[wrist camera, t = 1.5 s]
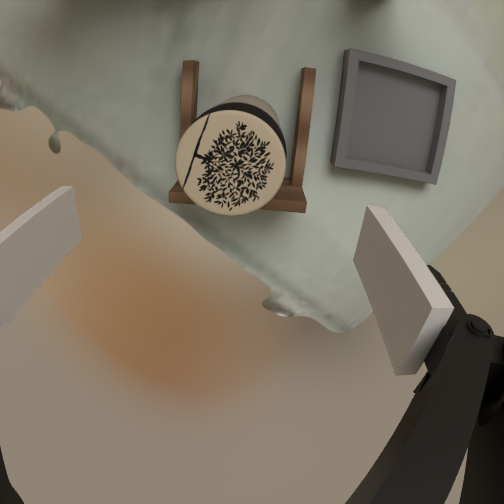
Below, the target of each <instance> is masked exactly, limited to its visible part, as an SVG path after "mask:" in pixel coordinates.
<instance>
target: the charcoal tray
mask: <svg viewBox="0 0 504 504" xmlns="http://www.w3.org/2000/svg"><path fill="white" fill-rule="evenodd" d="M455 85H456V80H454V79H452V78H449V77H446V76H444V75H441V74H438V73H435V72H433V71H430V70H427V69H424V68H421V67H418V66H415V65H412V64H408V63H405V62H402V61H398V60H395V59H391V58H388V57H384V56H380V55H376V54H372V53H368V52H364V51H359V50H355V49H347V50H344V60H343V70H342V79H341V88H340V96H339V104H338V112H337V119H336V127H335V134H334V141H333V148H332V154H331V161H330V162H331V163H332V164H333V166H334V167H340V168H347V169H353V170H360V171H366V172H372V173H378V174H384V175H390V176H395V177H401V178H406V179H411V180H416V181H421V182H426V183H431V184H435V185H436V183H437V179H438V175H439V171H440V167H441V163H442V158H443V154H444V149H445V145H446V140H447V135H448V129H449V124H450V118H451V112H452V106H453V100H454V92H455Z"/></svg>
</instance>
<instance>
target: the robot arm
mask: <svg viewBox="0 0 504 504" xmlns="http://www.w3.org/2000/svg"><path fill="white" fill-rule="evenodd" d="M81 239H82V234H81V229H80V224H79V218H78V212H77V206H76V199H75V192H74V186H61V187H59V188H58V189H56V190H55V191H54V192H52V193H51V194H49V195H48V196H46V197H45V198H44V199H42V200H41V201H40V202H38V203H37V204H35V205H34V206H33V207H32V208H30V209H29V210H27V211H26V212H25V213H24V214H22V215H21V216H20V217H18V218H17V219H16V220H15V221H13V222H12V223H11V224H10V225H8V226H7V227H6V228H5V229H4V230H2V231H1V232H0V326H2V327H6V328H8V327H9V326H10V324H11V323H12V322H13V320H14V319H15V318H16V316H17V315H18V314H19V312H20V311H21V310H22V308H23V307H24V306H25V305H26V303H27V302H28V301H29V299H30V298H31V297H32V296H33V294H34V293H35V292H36V291H37V290H38V288H39V287H40V286H41V285H42V283H43V282H44V281H45V280H46V279H47V277H48V276H49V275H50V274H51V273H52V272H53V270H54V269H55V268H56V267H57V266H58V265H59V263H60V262H61V261H62V260H63V259H64V258H65V257H66V256H67V254H68V253H69V252H70V251H71V250H72V249H73V248H74V247H75V246H76V245H77V243H78V242H79V241H80V240H81ZM353 261H354V263H355V266H356V268H357V271H358V273H359V276H360V278H361V281H362V283H363V286H364V288H365V291H366V293H367V296H368V298H369V301H370V304H371V306H372V309H373V312H374V314H375V317H376V320H377V323H378V325H379V328H380V331H381V333H382V336H383V339H384V342H385V345H386V348H387V351H388V354H389V357H390V360H391V363H392V366H393V369H394V372H395V375H411V374H416V373H417V372H418V370H419V368H420V367H421V365H422V364H423V362H425V365H426V367H427V370H428V371H427V373H426V374H425V376H424V377H423V379H422V380H421V382H420V383H419V385H418V386H417V387H416V389H415V390H414V391H413V392H414V393H415V395H414V397H413V399H412V401H411V403H410V405H409V407H408V409H407V411H406V412H405V414H404V416H403V418H402V419H401V421H400V423H399V425H398V426H397V428H396V430H395V432H394V433H393V435H392V437H391V438H390V440H389V441H388V443H387V445H386V446H385V448H384V449H383V451H382V453H381V454H380V456H379V457H378V459H377V460H376V462H375V463H374V465H373V466H372V468H371V469H370V471H369V472H368V474H367V475H366V477H365V478H364V479H363V481H362V482H361V483H360V485H359V486H358V488H357V489H356V490H355V491H354V493H353V494H352V495H351V497H350V498H349V499H348V501H347V502H346V503H345V504H444V503H445V501H446V499H447V497H448V494H449V492H450V490H451V488H452V486H453V483H454V481H455V479H456V476H457V474H458V471H459V469H460V466H461V464H462V461H463V459H464V456H465V453H466V451H467V448H468V453H467V462H466V468H465V475H464V482H463V487H462V492H461V497H460V502H459V504H504V337H500V336H496V335H494V332H493V330H492V328H491V327H490V325H489V324H488V323H487V322H486V321H485V320H483V319H482V318H480V317H478V316H475V315H472V314H467V313H466V312H465V310H464V308H463V307H462V305H461V304H460V302H459V301H458V299H457V297H456V296H455V294H454V293H453V292H451V288H450V287H449V286H448V284H446V281H445V280H444V278H443V277H442V276H441V274H440V273H439V272H438V271H437V270H435V269H434V268H433V267H432V266H431V265H426V264H425V263H424V261H423V260H422V259H421V257H420V256H419V254H418V253H417V251H416V250H415V249H414V247H413V246H412V245H411V243H410V242H409V241H408V239H407V238H406V236H405V235H404V234H403V232H402V231H401V230H400V229H399V227H398V226H397V225H396V223H395V222H394V221H393V219H392V218H391V217H390V216H389V214H388V213H387V212H386V211H385V209H384V208H383V207H377V206H370V205H367V206H366V211H365V215H364V219H363V224H362V228H361V232H360V236H359V240H358V244H357V248H356V252H355V255H354V259H353ZM0 504H24V502H23V501H22V499H21V498H20V496H19V495H18V494H17V492H16V491H15V489H14V488H13V487H12V485H11V483H10V482H9V479H8V476H7V472H6V469H5V465H4V461H3V457H2V452H1V448H0Z"/></svg>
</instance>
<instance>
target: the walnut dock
mask: <svg viewBox="0 0 504 504" xmlns="http://www.w3.org/2000/svg"><path fill="white" fill-rule="evenodd" d="M198 74H199V62H198V61H194V60H191V61H183V71H182V93H181V128H180V140H181V138H182V136H183V135H184V133H185V132H186V130H187V129H188V128H189V127H190V126H191V125H192V124H193V122H194V121H195V120H196V117H197V93H198ZM315 75H316V69H314V68H307V67H304V68H302V74H301V84H300V94H299V103H298V113H297V122H296V131H295V140H294V149H293V157H292V166H291V174H290V178H285V177H284V179H283V182H282V184H281V186H280V188H279V190H278V192H277V193H276V194H275V196H274V197H273V198H272V199H271V200H270V201H269V202H268V203H267V204H265V205H264V206H263V207H261V208H259V209H266V210H277V211H288V212H298V213H305V211H306V205H307V201H306V198H305V195H304V192H303V189H302V182H303V175H304V168H305V160H306V153H307V145H308V137H309V129H310V120H311V112H312V103H313V94H314V85H315ZM169 203H185V204H196V203H194V202H193V201H192V200H191V199H190V198H189V197H188V196H187V194H186V193H185V192H184V190H183V188H182V187H181V185H180V183H179V180H178V181H177V182H176V183H175V185H174V186H173V187H172V188H171V190H170V191H169Z"/></svg>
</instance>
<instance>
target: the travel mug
mask: <svg viewBox="0 0 504 504" xmlns="http://www.w3.org/2000/svg"><path fill="white" fill-rule="evenodd" d="M286 155H287V152H286V144H285V140H284V137H283V134H282V130H281V127H280V124H279V121H278V118H277V116H276V113H275V112H274V110H273V109H272V107H271V106H270V105H269V104H268V103H266V102H265V101H263V100H262V99H260V98H257V97H254V96H247V95H243V96H237V97H234V98H231V99H229V100H227V101H225V102H223V103H221V104H219V105H217V106H215V107H213V108H211V109H209V110H208V111H206V112H204V113H203V114H202V115H200V116H199V117H198V118H197V119H196V120H195V121H194V122H193V124H192V125H191V126H190V127H189V128H188V129H187V130H186V132H185V133H184V135H183V136H182V138H181V140H180V142H179V144H178V147H177V151H176V157H175V167H176V173H177V177H178V180H179V183H180V185H181V187H182V188H183V190H184V192H185V193H186V194H187V196H188V197H189V198H190V199H191V200H192V201H193V202H194V203H196V204H197V205H198V206H200V207H201V208H203V209H205V210H207V211H210V212H212V213H215V214H219V215H225V216H238V215H244V214H248V213H251V212H253V211H256V210H258V209H259V208H261V207H263V206H264V205H265V204H267V203H268V202H269V201H270V200H271V199H272V198H273V197H274V196H275V194H276V193H277V192H278V190H279V188H280V186H281V184H282V182H283V179H284V175H285V169H286Z"/></svg>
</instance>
